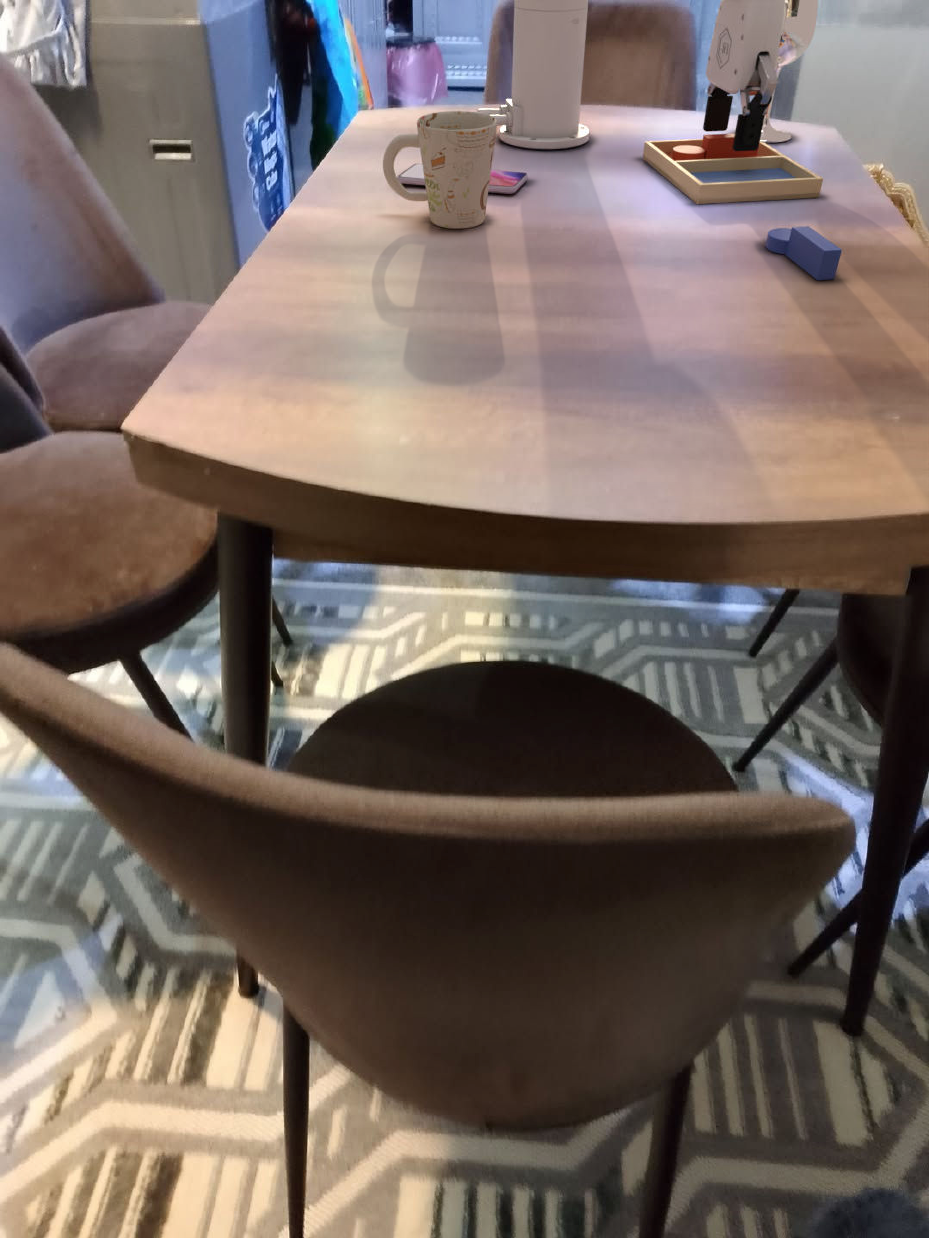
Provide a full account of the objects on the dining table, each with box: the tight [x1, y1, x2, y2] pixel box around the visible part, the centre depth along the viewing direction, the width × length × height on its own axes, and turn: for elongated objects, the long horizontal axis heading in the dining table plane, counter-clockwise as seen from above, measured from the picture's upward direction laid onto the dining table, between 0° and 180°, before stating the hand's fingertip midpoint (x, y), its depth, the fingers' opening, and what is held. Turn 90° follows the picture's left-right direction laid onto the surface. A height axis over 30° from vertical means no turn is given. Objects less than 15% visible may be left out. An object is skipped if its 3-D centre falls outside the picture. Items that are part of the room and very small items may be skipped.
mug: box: [382, 110, 498, 230], centre depth 98 cm, size 8×13×10 cm, turn 78°
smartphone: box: [396, 163, 529, 195], centre depth 111 cm, size 7×1×15 cm
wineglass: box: [760, 0, 819, 144], centre depth 122 cm, size 8×8×20 cm
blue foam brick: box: [764, 225, 843, 281], centre depth 91 cm, size 11×4×3 cm, turn 10°
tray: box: [642, 138, 824, 205], centre depth 113 cm, size 15×20×2 cm
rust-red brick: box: [672, 132, 760, 161], centre depth 116 cm, size 11×4×3 cm, turn 100°
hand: (729, 140), depth 116 cm, fingers open, 9 cm apart
